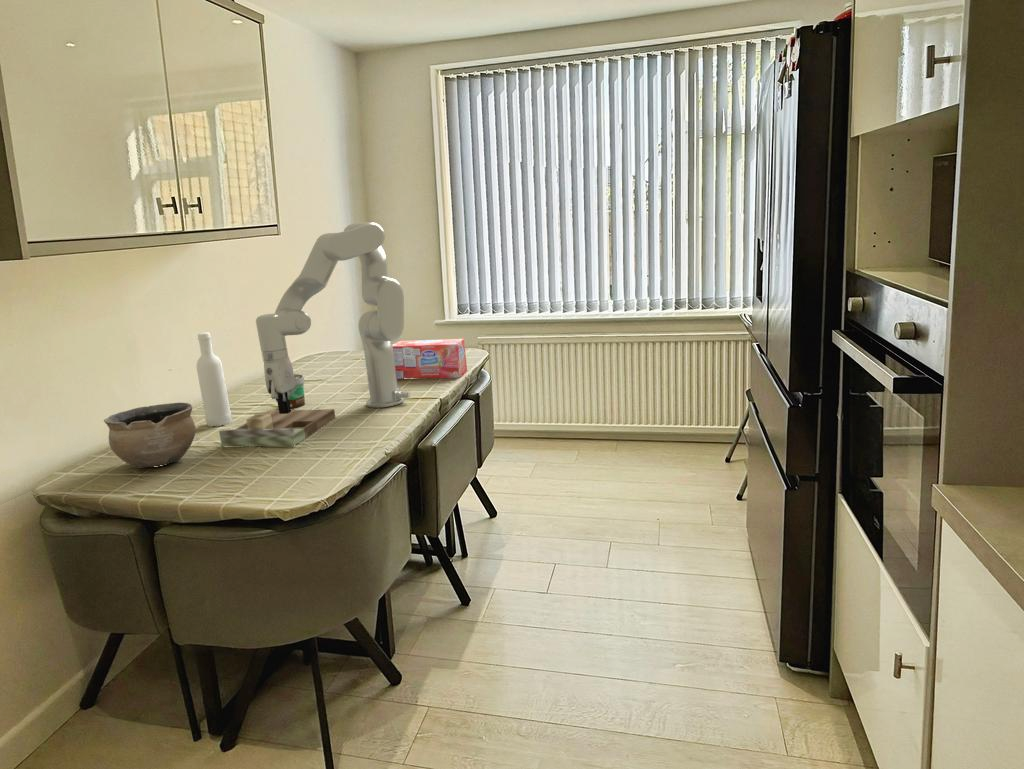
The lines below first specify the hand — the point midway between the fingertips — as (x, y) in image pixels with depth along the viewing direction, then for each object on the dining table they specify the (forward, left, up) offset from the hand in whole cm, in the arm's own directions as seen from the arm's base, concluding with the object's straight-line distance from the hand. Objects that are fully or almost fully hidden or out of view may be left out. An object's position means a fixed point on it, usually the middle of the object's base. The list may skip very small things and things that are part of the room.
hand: (285, 412), depth 232 cm
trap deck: (0, +3, -5) cm, 6 cm away
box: (-25, -68, -6) cm, 72 cm away
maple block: (+1, +14, -2) cm, 14 cm away
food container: (+10, -28, -5) cm, 30 cm away
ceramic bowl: (+23, +30, -5) cm, 39 cm away
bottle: (+28, -8, -5) cm, 30 cm away
